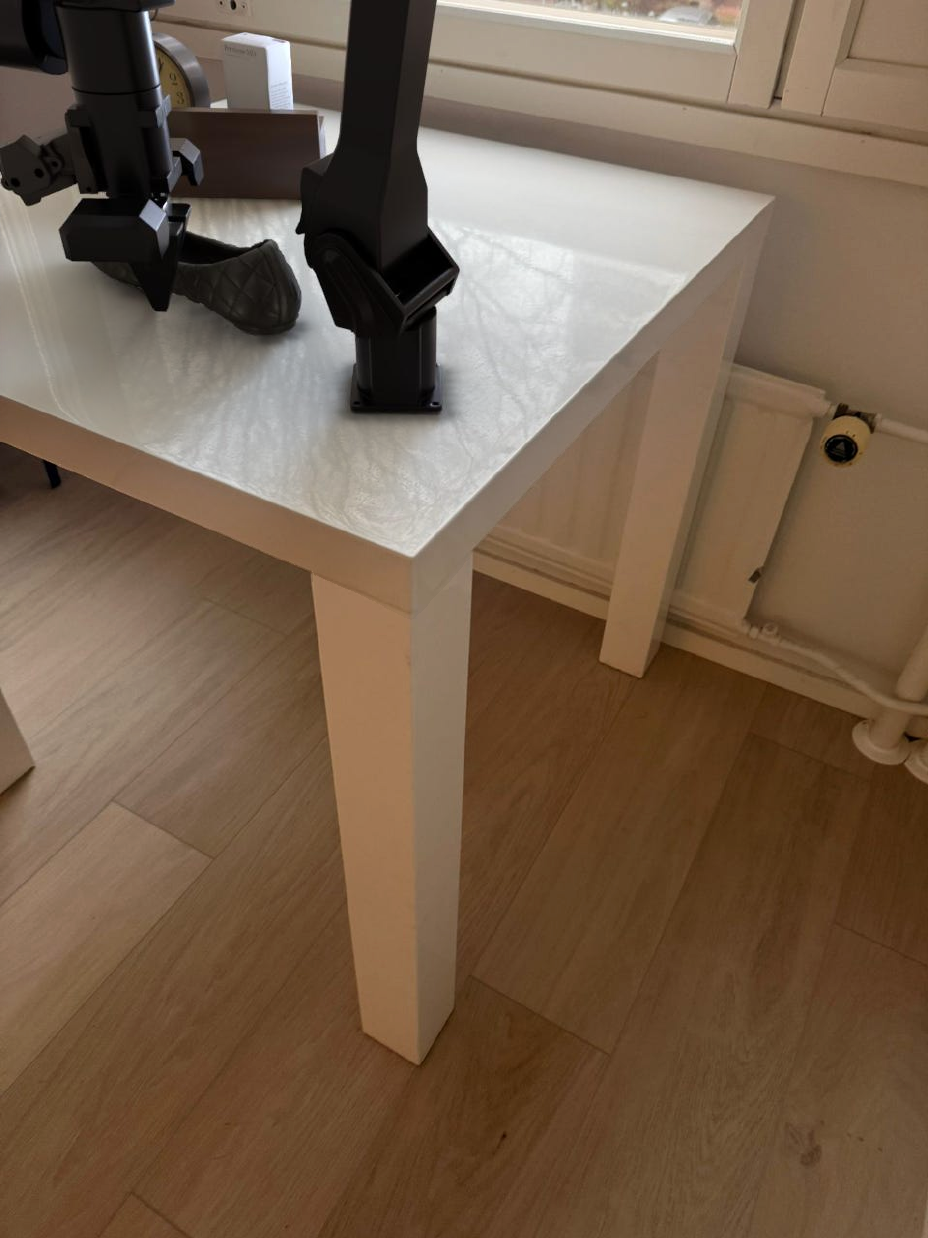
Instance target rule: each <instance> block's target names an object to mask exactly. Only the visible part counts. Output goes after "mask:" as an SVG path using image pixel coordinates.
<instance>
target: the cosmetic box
mask: <svg viewBox="0 0 928 1238" xmlns="http://www.w3.org/2000/svg"><path fill="white" fill-rule="evenodd" d="M220 48H221V58H222V68H223V76H224V77H223V78H224V85H225V96H226V108H240V109H282V110H294V101H293V97H294V96H293V82H292V81H293V80H292V65H291V62H292V61H291V44H290V41H287V40H283V39H279V38H275V37H272V36H268V35H261V34H256V33H251V32H246V31H245V32H240V33H237V34H233V35H230V36H226V37H224V38H221V39H220Z"/></svg>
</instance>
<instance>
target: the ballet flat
mask: <svg viewBox="0 0 928 1238" xmlns="http://www.w3.org/2000/svg"><path fill="white" fill-rule="evenodd" d="M90 264H92V265H93V267H95V268H96V269H97V270H99V271H100V272H101V273H103V274H104V275H106V276H108V278H110V279H112V280H114V281H117V282H119V283H122V284H125V285H127V286H131V287H134V288H136V289H139V290H142V288H141V287H140V285H139V283H138V281H137V279H136V277H135V275H134V273H133V271H132V270H131V268H130V266H129V264H128V263H127V262H90ZM172 294H174V295H177V296H179V297H184V298H186V299H187V300H188V301H189V302H192V303H194V304H198V305H202V306H204V307H205V308H206V309H207V310H209V311H210V312H213V313H215V314H217V315H219V317H222V318H223V319H225V321H228V322H229V323H230V324H232V325H233V326H234V327H235V328H236V329H237V330H239V331H241V332H243V333H245V334H249V335H252V336H255V337H271V336H272V337H273V336H279V335H282V334H284V333H286V332H289V331H291V330H292V329H293V328H294V327H296V326H297V325H296V324H297V320H298V319H299V316H300V313H299V312H300V310H301V309H302V308H301V306H302V300H303V298H302V295H303V294H302V289H301V287H300V284H299V282H298V280H297V278H296V275H295V272H294V269H293V268H292V266H291V265H290V264H289V263H288V262H287V259H286V256H285V254H284V253H283V251H282V250H281V249H280V246H279V244H278V242H277V241H275V240H274V239H272V238H265V239H263V241H259V242H256V243H254V244H253V245H251V246H237V245H235V244H232V243H226V242H225V241H222V240H218V239H216V238H212V237H208V236H204V235H201V234H197V233H195V232H192V231H190V230H187V229H186V233H185V237H184V241H183V246H182V250H181V254H180V259H179V263H178V267H177V272H176V276H175V281H174V286H173V290H172Z"/></svg>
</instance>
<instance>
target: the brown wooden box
mask: <svg viewBox="0 0 928 1238" xmlns="http://www.w3.org/2000/svg"><path fill="white" fill-rule="evenodd" d="M166 118H167V124H168V130H169V136H170V138H187V139H188V140H189V141H190V142H191V143H192V144H193V145H194V146H195V147H196V148H197V149H198V150H199V151H200V154H201V160H202V167H203V174H204V176H203V178H202V180H201V182H200V184H199V186H191V185H190V182H189V180H188V177H187V176H181V175H180V176H179V178H178V180H177V182H176V184H175V185H174V187H173V189H172V191H171V192H170V193H165V194H170V198H172V197H173V198H174V197H175V198H176V197H177V198H227V199H275V200H276V199H278V200H279V199H280V200H284V199H285V200H301V191H300V180H301V174H302V169H303V168H304V167H306V166H308V165H310V164H312V163H314V162H316V161H317V160H319V159H321V158H323V157H325V156H327V143H326V142H327V141H326V130H325V129H326V128H325V127H326V126H325V116H324V115H320V113H319V110H317V109H293V110H282V109H240V108H228V107H210V108H198V107H172V110H171V111H170V113H169V114H168V116H167V117H166Z"/></svg>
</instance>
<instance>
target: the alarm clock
mask: <svg viewBox="0 0 928 1238" xmlns="http://www.w3.org/2000/svg"><path fill="white" fill-rule="evenodd" d="M158 14H159V9H155V10H154V14H153V15H152V16H151V17H149V18H150V23H151V22H153V21H154V20H156V19H157V16H158ZM152 36H153V42H154V47H155V53H156V59H157V65H158V71H159V77H160V83H161V89H162V93H169V94H170V101H171V107H198V108H211V107H212V106H211V104H212V103H211V93H210V87H209V83H208V79H207V77H206V75H205V72H204V69H203V68H202V66H201V65H200V63H199V61H198V60H197V58H196V57H195V56H194V54H193V53H192V52H191V51H190V50H189V49H188V47H187V46H185V45H184V44H183V43H182V42H181V41H180V40H178V39H176V38H175V37H173V36H171V35H168V34H166V33H162V32H160V31H159V32H158V31H152Z"/></svg>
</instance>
